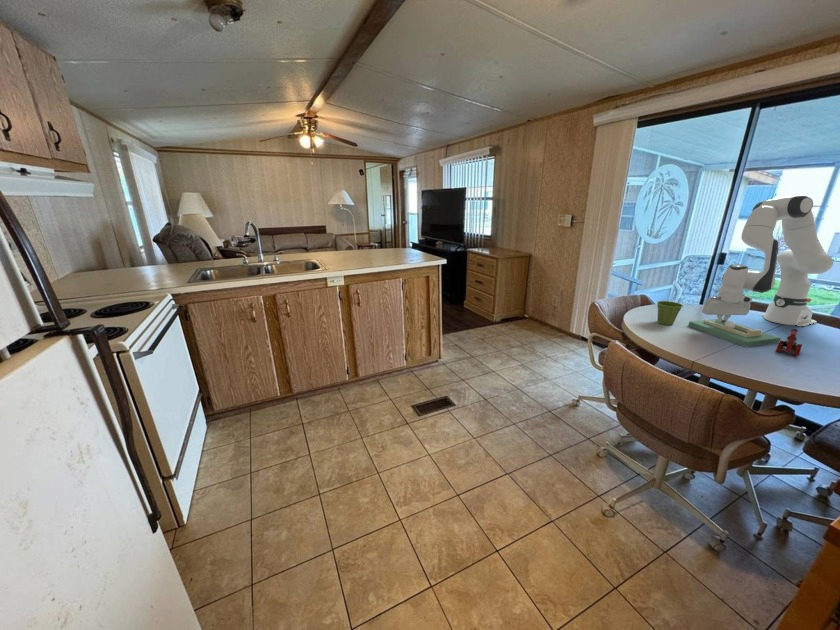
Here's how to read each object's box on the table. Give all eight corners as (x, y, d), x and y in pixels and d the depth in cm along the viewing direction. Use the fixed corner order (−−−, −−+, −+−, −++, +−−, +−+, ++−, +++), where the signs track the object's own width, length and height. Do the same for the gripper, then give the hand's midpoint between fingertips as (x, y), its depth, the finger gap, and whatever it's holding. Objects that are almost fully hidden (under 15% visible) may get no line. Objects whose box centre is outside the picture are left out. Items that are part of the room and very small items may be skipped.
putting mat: (688, 325, 180) (690, 316, 179) (718, 322, 184) (721, 313, 182) (744, 346, 154) (748, 335, 153) (778, 342, 158) (782, 332, 156)
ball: (738, 324, 165) (734, 331, 167) (734, 321, 168) (730, 328, 170) (729, 322, 166) (725, 329, 168) (725, 319, 169) (721, 326, 171)
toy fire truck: (800, 350, 150) (808, 329, 146) (797, 358, 142) (806, 336, 139) (778, 346, 155) (786, 325, 152) (774, 353, 148) (782, 331, 144)
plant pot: (683, 326, 180) (689, 306, 176) (661, 327, 180) (666, 307, 176) (668, 319, 191) (672, 300, 187) (647, 319, 191) (651, 300, 187)
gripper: (712, 298, 166) (704, 324, 171) (756, 298, 165) (747, 324, 169) (702, 295, 172) (696, 320, 177) (745, 295, 171) (737, 320, 175)
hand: (721, 322), depth 173 cm, fingers closed
